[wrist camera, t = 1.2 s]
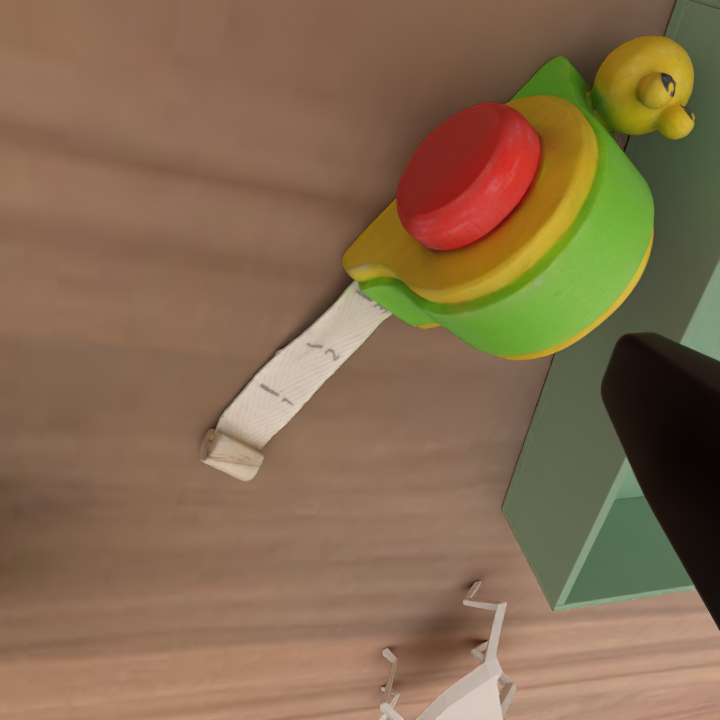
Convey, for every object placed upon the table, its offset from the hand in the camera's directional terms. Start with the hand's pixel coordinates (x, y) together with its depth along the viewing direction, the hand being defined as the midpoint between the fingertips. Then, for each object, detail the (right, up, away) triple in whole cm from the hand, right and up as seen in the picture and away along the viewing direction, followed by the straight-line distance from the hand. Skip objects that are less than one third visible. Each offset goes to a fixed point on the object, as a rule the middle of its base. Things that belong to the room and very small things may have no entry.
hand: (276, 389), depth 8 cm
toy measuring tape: (+2, +4, +15) cm, 15 cm away
